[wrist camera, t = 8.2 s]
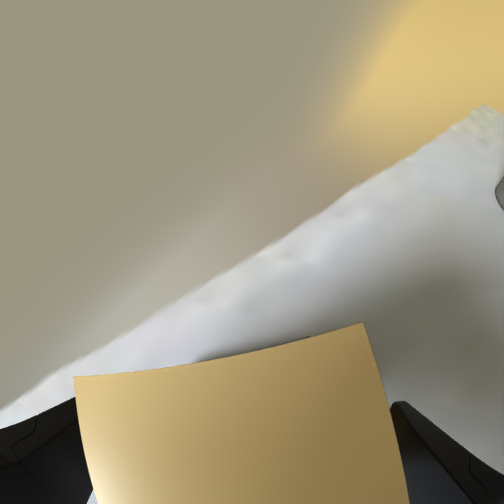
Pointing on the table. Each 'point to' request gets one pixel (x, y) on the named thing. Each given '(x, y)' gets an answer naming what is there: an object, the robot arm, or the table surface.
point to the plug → (246, 429)
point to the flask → (500, 193)
